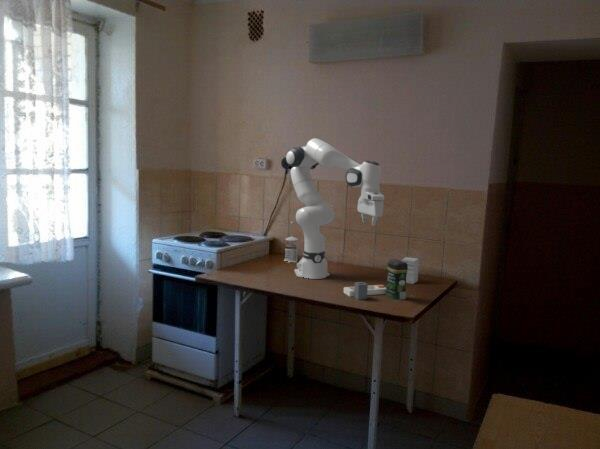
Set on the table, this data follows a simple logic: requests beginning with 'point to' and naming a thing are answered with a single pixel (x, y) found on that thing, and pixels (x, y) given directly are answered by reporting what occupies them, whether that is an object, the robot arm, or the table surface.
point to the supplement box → (411, 269)
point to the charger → (360, 290)
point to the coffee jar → (396, 279)
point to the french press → (291, 250)
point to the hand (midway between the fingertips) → (368, 223)
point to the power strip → (370, 291)
